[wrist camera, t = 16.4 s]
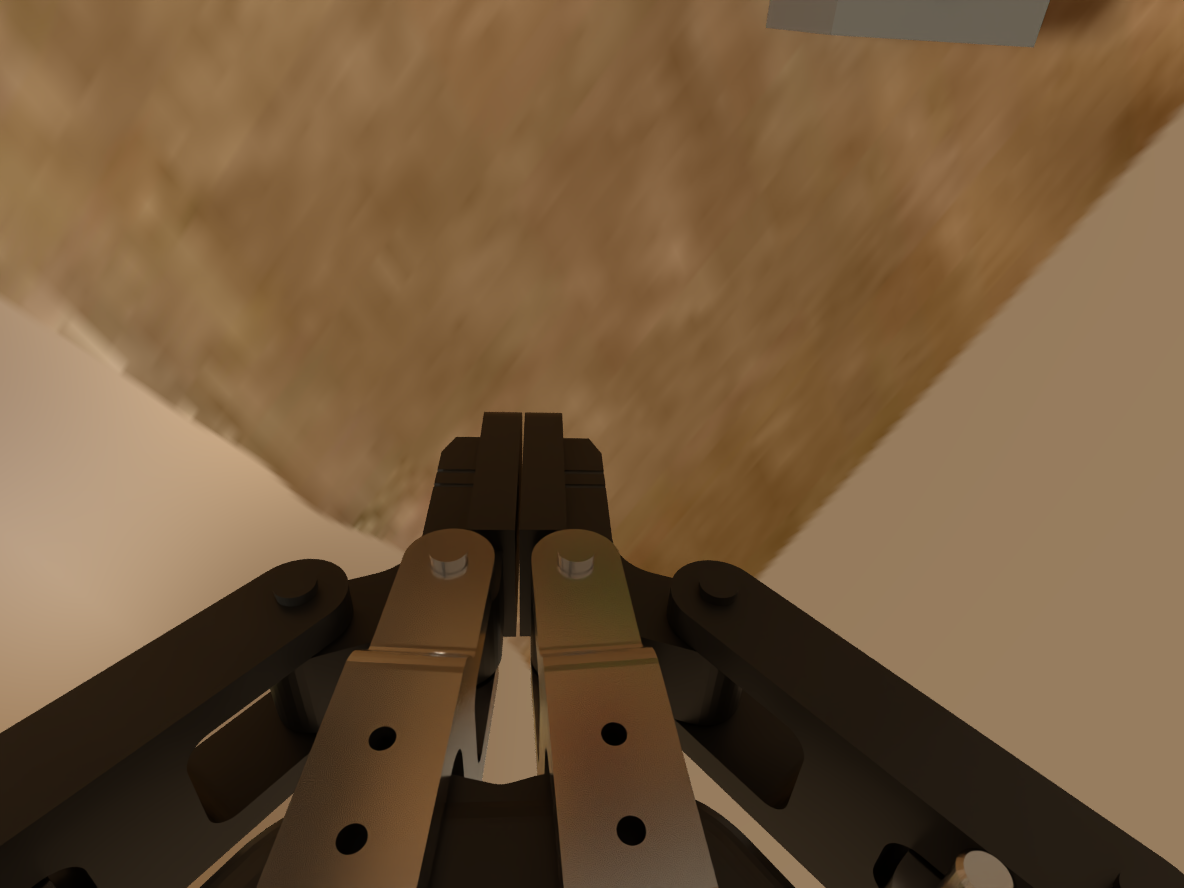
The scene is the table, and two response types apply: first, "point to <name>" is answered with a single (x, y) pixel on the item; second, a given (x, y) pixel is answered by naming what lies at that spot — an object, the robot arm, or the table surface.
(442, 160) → the table surface
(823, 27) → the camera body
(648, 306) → the table surface
